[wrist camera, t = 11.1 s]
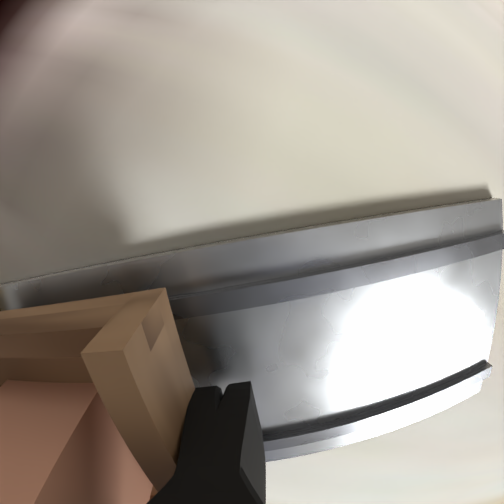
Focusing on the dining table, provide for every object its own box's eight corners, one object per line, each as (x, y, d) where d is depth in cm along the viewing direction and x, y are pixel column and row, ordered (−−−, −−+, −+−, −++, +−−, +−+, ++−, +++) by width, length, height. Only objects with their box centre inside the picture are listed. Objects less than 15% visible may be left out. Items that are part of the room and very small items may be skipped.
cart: (233, 466, 10) (233, 551, 6) (67, 460, 10) (37, 519, 6) (174, 274, 8) (122, 350, 4) (-14, 305, 8) (-84, 348, 4)
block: (155, 475, 7) (128, 601, 3) (61, 465, 7) (16, 559, 3) (102, 382, 7) (18, 536, 2) (7, 380, 7) (-76, 473, 2)
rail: (474, 386, 11) (492, 404, 9) (34, 446, 11) (22, 465, 9) (493, 198, 9) (523, 201, 7) (-41, 293, 9) (-64, 305, 7)
